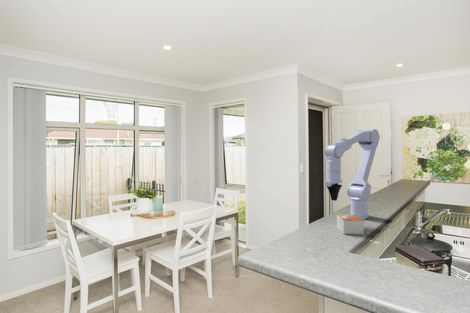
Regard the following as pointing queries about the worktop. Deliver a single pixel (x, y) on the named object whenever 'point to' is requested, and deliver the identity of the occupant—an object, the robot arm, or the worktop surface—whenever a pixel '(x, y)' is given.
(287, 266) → the worktop surface
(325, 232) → the worktop surface
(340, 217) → the small box
